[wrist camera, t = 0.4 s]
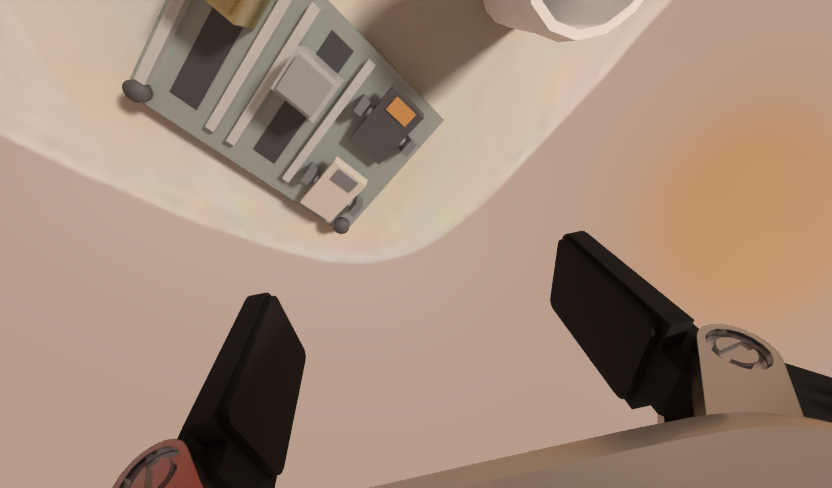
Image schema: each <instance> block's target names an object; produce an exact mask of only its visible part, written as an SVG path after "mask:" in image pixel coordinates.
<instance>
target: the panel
mask: <svg viewBox="0 0 832 488" xmlns="http://www.w3.org/2000/svg"><path fill="white" fill-rule="evenodd" d="M298 45H299V46H307V47H309V48H310V49H311V50H312V51H313V52H314V53H316V54H317V55H318V56H319V57H320V58H321V59H322V60H323V61H324V62H325V63H326V64H328V65H329V66H330V67H331V68H332V69H333V70H334V71H335V72H336V73H337V74H338V75H339V76H341V77H342V78H343V79H344V80H345V81H344V82H343V83H342V85H341V86H340V88H339V89H338V90H337V92H336V93H335V94H334V96H333V97H332V99H331V100H330V101H329V103H328V104H327V106H326V107H325V108H324V110H323V111H322V113H321V114H320V115H319V116H318V118H317V119H316V120H315V122H314V123H313V122H312V121H310V120H309V119H308V118H307V117H305V116H304V115H303V114H302V113H300V112H299V111H298V110H297V109H296V108H294V107H293V106H292V105H291V104H289V103H288V102H287V101H286V100H284V99H283V98H282V97H281V96H279V95H278V94H277V93H276V92H274V91H273V90H272V89H271V87H272V85H273V83H274V82H275V80H276V79H277V77H278V76H279V74H280V72H281V71H282V69H283V68H284V66H285V65H286V63H287V61H288V60H289V58H290V57H291V55H292V54H293V52H294V50H295V49H296V47H297V46H298ZM393 84H395V85H396V86H397V87H398V88H399V89H400V90H401V91H402V92H403V93H404V94H405V95H406V96H407V97H408V98H409V99H410V100H411V101H412V102H413V103H414V104H415V105H416V106H417V107H418V108H419V109H420V110H421V111H422V112H423V113H424V119H423V120H422V121H421V122H420V123H419V124H418V125H417V126H416V127H415V128H414V129H413V130H412V131H411V132H410V133H409V134H408V135H407V136H406V137H405V139H406V140H405V142H404V143H403V144H402V145H401V146H400V145H398V146H397V147H396V148H395V149H394V150H393V151H392V152H391V153H390V154H389V155H388V156H387V157H386V158H385V159H384V160H383V161H382V162H381V163H380V164H379V165H378V164H377V163H376V162H375V161H374V160H372V159H371V158H370V157H369V156H367V155H366V154H365V153H364V152H363V151H361V150H360V149H359V148H358V147H356V146H355V145H354V144H353V143H352V142H350V141H349V138H350V136H351V134H352V133H353V132H354V131H355V130H356V128H357V127H358V126H359V125H360V124H361V122H362V121H363V120H364V119H365V118H366V115H365V113H366V112H367V110H368V109H369V108H370V107H371V108H372V109H373V108H374V107H375V105H376V104H377V103H378V102H379V101H380V99H381V98H382V97H383V96H384V95H385V93H386V92H387V91H388V90H389V89H390V87H391V86H392V85H393ZM122 89H123V92H124V94H125V95H126V96H127V97H128V98H129V99H130V100H132V101H134V102H138V103H140V102H142V103H144V104H145V105H147V106H148V107H150V108H151V109H153V110H155V111H156V112H158V113H159V114H161V115H162V116H164V117H165V118H167V119H168V120H170V121H171V122H173V123H175V124H176V125H178V126H179V127H181V128H182V129H184V130H185V131H187V132H188V133H190V134H192V135H193V136H195V137H196V138H198V139H199V140H201V141H202V142H204V143H205V144H207V145H208V146H210V147H212V148H213V149H215V150H216V151H218V152H219V153H221V154H222V155H224V156H225V157H227V158H228V159H230V160H232V161H233V162H235V163H236V164H238V165H239V166H241V167H242V168H244V169H245V170H247V171H248V172H250V173H252V174H253V175H255V176H256V177H258V178H259V179H261V180H262V181H264V182H265V183H267V184H268V185H270V186H272V187H273V188H275V189H276V190H278V191H279V192H281V193H282V194H284V195H285V196H287V197H289V198H290V199H292V200H293V201H295V202H296V203H298V204H299V205H301V206H302V207H304V208H305V209H307V210H309V211H310V212H312V213H313V214H315V215H316V216H318V217H319V218H321V219H322V220H324V221H325V222H327V223H329V224H330V225H332V226H333V227H334V230H335V231H336V232H337V233H339V234H344V233H346V232H347V231H348V230H349V227H350V226H351V225H352V223H353V222H354V221H355V220H356V219H357V218H358V217H359V216H360V214H361V213H362V212H363V211H364V210H365V209H366V208H367V206H368V205H369V204H370V203H371V202H372V201H373V200H374V199H375V197H376V196H377V195H378V194H379V193H380V192H381V191H382V190H383V188H384V187H385V186H386V185H387V184H388V183H389V182H390V180H391V179H392V178H393V177H394V176H395V175H396V174H397V173H398V171H399V170H400V169H401V168H402V167H403V166H404V165H405V163H406V162H407V161H408V160H409V159H410V158H411V157H412V156H413V154H414V153H415V152H416V151H417V150H418V149H419V148H420V147H421V145H422V144H423V143H424V142H425V141H426V140H427V139H428V137H429V136H430V135H431V134H432V133H433V132H434V131H435V130H436V128H437V127H438V126H439V125H440V124H441V123H442V122H443V119H442V118H441V117H440V115H439V114H438V113H437V112H436V111H435V110H434V109H433V108H432V107H431V106H430V105H429V104H428V103H427V102H426V101H425V100H424V99H423V98H422V97H421V96H420V95H419V94H418V93H417V92H416V91H415V90H414V89H413V88H412V87H411V86H410V84H409V83H408V82H407V81H406V80H405V79H404V78H403V77H402V76H401V75H400V74H399V73H398V72H397V71H396V70H395V69H394V68H393V67H392V66H391V65H390V64H389V63H388V62H387V61H386V60H385V59H384V58H383V57H382V56H381V55H380V53H379V52H378V51H377V50H376V49H375V48H374V47H373V46H372V45H371V44H370V43H369V42H368V41H367V40H366V39H365V38H364V37H363V36H362V35H361V34H360V33H359V32H358V31H357V30H356V29H355V28H354V27H353V26H352V25H351V24H350V22H349V21H348V20H347V19H346V18H345V17H344V16H343V15H342V14H341V13H340V12H339V11H338V10H337V9H336V8H335V7H334V6H333V5H332V4H331V3H330V2H329V1H328V0H271V2H270V3H269V5H268V7H267V9H266V10H265V12H264V14H263V16H262V17H261V19H260V21H259V23H258V24H257V26H256V28H255V29H251V28H247V27H242V26H237V25H233V24H232V23H231V22H230V21H229V20H227V19H226V18H225V17H224V16H223V15H222V14H220V13H219V12H218V11H217V10H216V9H215V8H213V7H212V6H211V5H210V4H209V3H208V2H206V1H205V0H166V2H165V4H164V6H163V9H162V11H161V13H160V15H159V17H158V20H157V22H156V24H155V26H154V28H153V30H152V33H151V35H150V37H149V39H148V41H147V44H146V46H145V48H144V50H143V52H142V55H141V57H140V59H139V61H138V63H137V65H136V68H135V70H134V72H133V74H132V76H131V79H130V80H126V81H125V82H124V83H123V84H122ZM337 156H338V157H339V158H340V159H341V160H343V161H344V162H345V163H347V164H348V165H349V166H350V167H352V168H353V169H354V170H356V171H357V172H358V173H359V174H361V175H362V176H363V177H365V178H366V179H367V180H368V181H367V184H366V187H365V188H364V189H363V190H362V191H361V192H360V193H359V194H358V195H357V196H356V197H355V198H354V199H353V202H352V204H351V205H350V206H349V207H348V206H346V207H345V208H344V209H343V210H342V211H341V212H340V213H339V214H338V215H337V216H336V217H335V218H334V219H333V220H332V221H331V222H329V221H328V220H326V219H325V218H323V217H322V216H320V215H319V214H317V213H316V212H314V211H312V210H311V209H309V208H308V207H306V206H305V205H303V204H302V203H300V201H301V199H302V198H303V196H304V195H305V194H306V192H307V191H308V190H309V189H310V188H311V186H312V185H313V184H314V182H313V180H314V179H315V177H316V176H317V175H318V176H321V174H322V173H323V172H324V171H325V170H326V169H327V167H328V166H329V165H330V164H331V163H332V161H333V160H334V159H335V158H336V157H337Z"/></svg>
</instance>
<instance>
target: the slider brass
mask: <svg viewBox="0 0 832 488" xmlns="http://www.w3.org/2000/svg"><path fill="white" fill-rule="evenodd" d="M205 1H206V2H208V3H209V4H210V5H211V6H212V7H213V8H215V9H216V10H217V11H218V12H219V13H220V14H222V15H223V16H224V17H225V18H226V19H227V20H229V21H230V22H231V23H232V24H233V25H237V26H242V27H247V28H251V29H255V28H256V26H257V24H258V23H259V21H260V19H261V17H262V16H263V14H264V12H265V10H266V9H267V7H268V5H269V3H270V2H271V0H205Z"/></svg>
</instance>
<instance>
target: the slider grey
mask: <svg viewBox="0 0 832 488" xmlns="http://www.w3.org/2000/svg"><path fill="white" fill-rule="evenodd" d="M344 81H345V80H344V79H343V78H342V77H341V76H339V75H338V74H337V73H336V72H335V71H334V70H333V69H332V68H331V67H330V66H329V65H328V64H326V63H325V62H324V61H323V60H322V59H321V58H320V57H319V56H318V55H317V54H316V53H314V52H313V51H312V50H311V49H310V48H309V47H307V46H299V45H298V46H297V47H296V49H295V50H294V52H293V54H292V55H291V57H290V58H289V60H288V61H287V63H286V65H285V66H284V68H283V69H282V71H281V72H280V74H279V76H278V77H277V79H276V80H275V82H274V83H273V85H272V87H271V89H272V90H273V91H274V92H276V93H277V94H278V95H279V96H281V97H282V98H283V99H284V100H286V101H287V102H288V103H289V104H291V105H292V106H293V107H294V108H296V109H297V110H298V111H299V112H300V113H302V114H303V115H304V116H305V117H307V118H308V119H309V120H310V121H312V122H313V123H314V122H315V120H316V119H317V118H318V116H319V115H320V114H321V113H322V111H323V110H324V108H325V107H326V106H327V104H328V103H329V101H330V100H331V99H332V97H333V96H334V94H335V93H336V92H337V90H338V89H339V88H340V86H341V85H342V83H343V82H344Z"/></svg>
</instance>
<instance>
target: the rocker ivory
mask: <svg viewBox="0 0 832 488" xmlns="http://www.w3.org/2000/svg"><path fill="white" fill-rule="evenodd" d="M367 181H368V180H367V179H366V178H365V177H363V176H362V175H361V174H359V173H358V172H357V171H356V170H354V169H353V168H352V167H350V166H349V165H348V164H347V163H345V162H344V161H343V160H341V159H340V158H339V157H338V156H337V157H336V158H335V159H334V160H333V161H332V163H331V164H330V165H329V166H328V167H327V169H326V170H325V171H324V172H323V173H322V174H321V176H318V175H317V176H316V177H315V179H314V180H313V182H314V184H313V185H312V186H311V188H310V189H309V190H308V191H307V192H306V194H305V195H304V196H303V198H302V199H301V201H300V203H302V204H303V205H305V206H306V207H308V208H309V209H311V210H312V211H314V212H316V213H317V214H319V215H320V216H322V217H323V218H325V219H326V220H328V221H329V222H331V221H332V220H333V219H334V218H335V217H336V216H337V215H338V214H339V213H340V212H341V211H342V210H343V209H344V208H345V207H346V206H348V207H349V206H350V205H351V204H352V202H353V199H354V198H355V197H356V196H357V195H358V194H359V193H360V192H361V191H362V190H363V189H364V188H365V187H366V184H367Z"/></svg>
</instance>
